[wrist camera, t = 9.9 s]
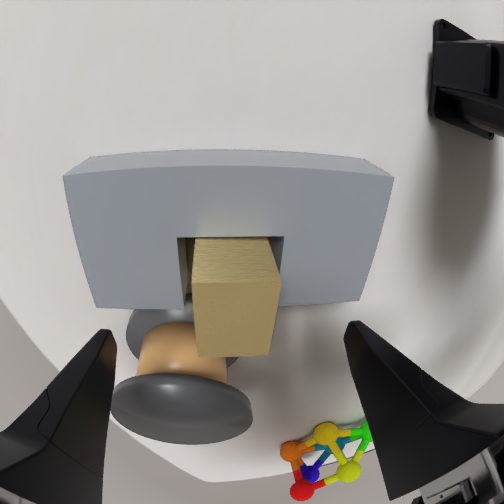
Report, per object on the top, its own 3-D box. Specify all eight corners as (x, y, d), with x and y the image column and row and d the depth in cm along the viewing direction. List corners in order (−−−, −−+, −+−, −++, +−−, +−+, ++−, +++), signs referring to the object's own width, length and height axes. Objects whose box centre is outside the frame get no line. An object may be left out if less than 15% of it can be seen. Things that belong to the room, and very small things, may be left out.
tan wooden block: (257, 209, 15) (281, 281, 10) (252, 272, 17) (268, 355, 12) (198, 208, 14) (191, 282, 9) (200, 273, 16) (197, 357, 11)
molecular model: (350, 410, 39) (297, 482, 34) (312, 387, 36) (251, 468, 31) (402, 432, 28) (339, 518, 24) (370, 413, 26) (292, 514, 21)
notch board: (364, 159, 14) (394, 176, 11) (340, 269, 17) (359, 300, 15) (89, 157, 12) (62, 175, 9) (110, 273, 16) (96, 307, 13)
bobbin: (243, 292, 17) (257, 385, 12) (239, 368, 22) (249, 442, 16) (116, 293, 16) (88, 380, 11) (141, 368, 21) (132, 440, 15)
